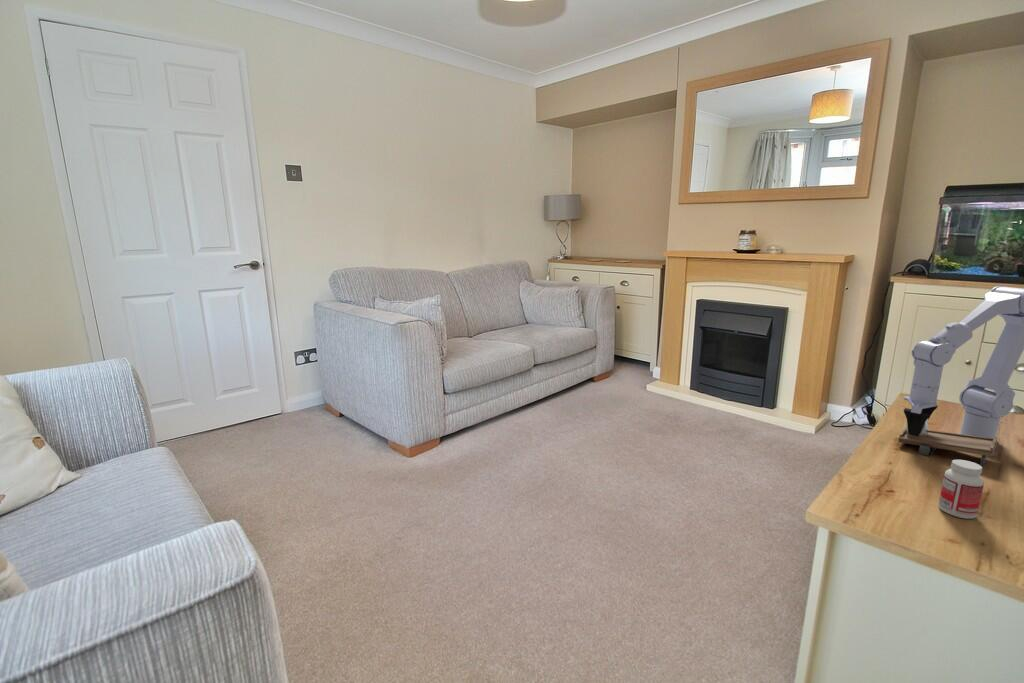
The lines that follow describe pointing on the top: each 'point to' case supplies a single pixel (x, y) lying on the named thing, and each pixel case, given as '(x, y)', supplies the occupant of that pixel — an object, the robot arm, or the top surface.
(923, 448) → the beam stand
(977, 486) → the pill bottle
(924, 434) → the block
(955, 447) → the balance beam
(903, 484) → the top surface
